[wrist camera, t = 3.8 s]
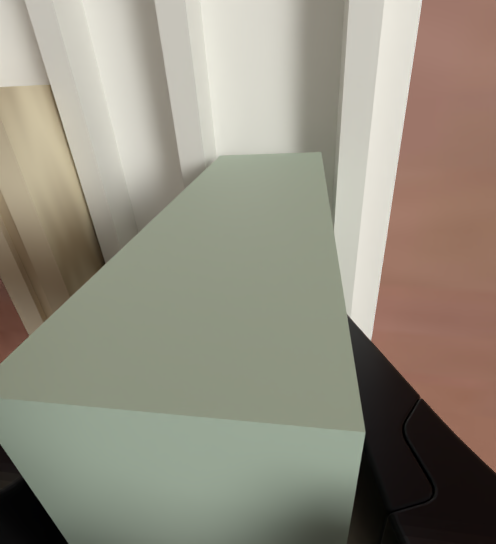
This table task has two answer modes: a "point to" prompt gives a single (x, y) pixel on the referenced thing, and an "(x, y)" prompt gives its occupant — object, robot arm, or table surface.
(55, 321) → the sage green block
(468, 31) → the table surface
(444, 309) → the table surface
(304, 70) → the slot rack
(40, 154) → the offcut bundle
